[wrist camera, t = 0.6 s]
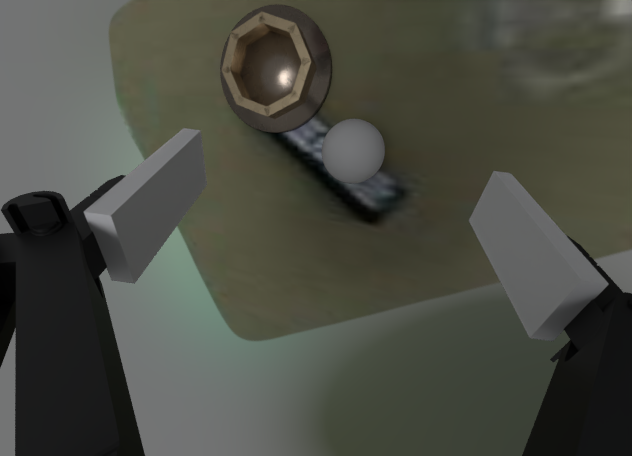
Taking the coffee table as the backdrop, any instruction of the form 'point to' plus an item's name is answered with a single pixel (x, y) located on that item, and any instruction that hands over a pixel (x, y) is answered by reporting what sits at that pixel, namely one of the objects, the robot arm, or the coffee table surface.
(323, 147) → the lightbulb
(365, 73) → the coffee table surface
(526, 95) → the coffee table surface
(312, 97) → the socket
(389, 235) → the coffee table surface
